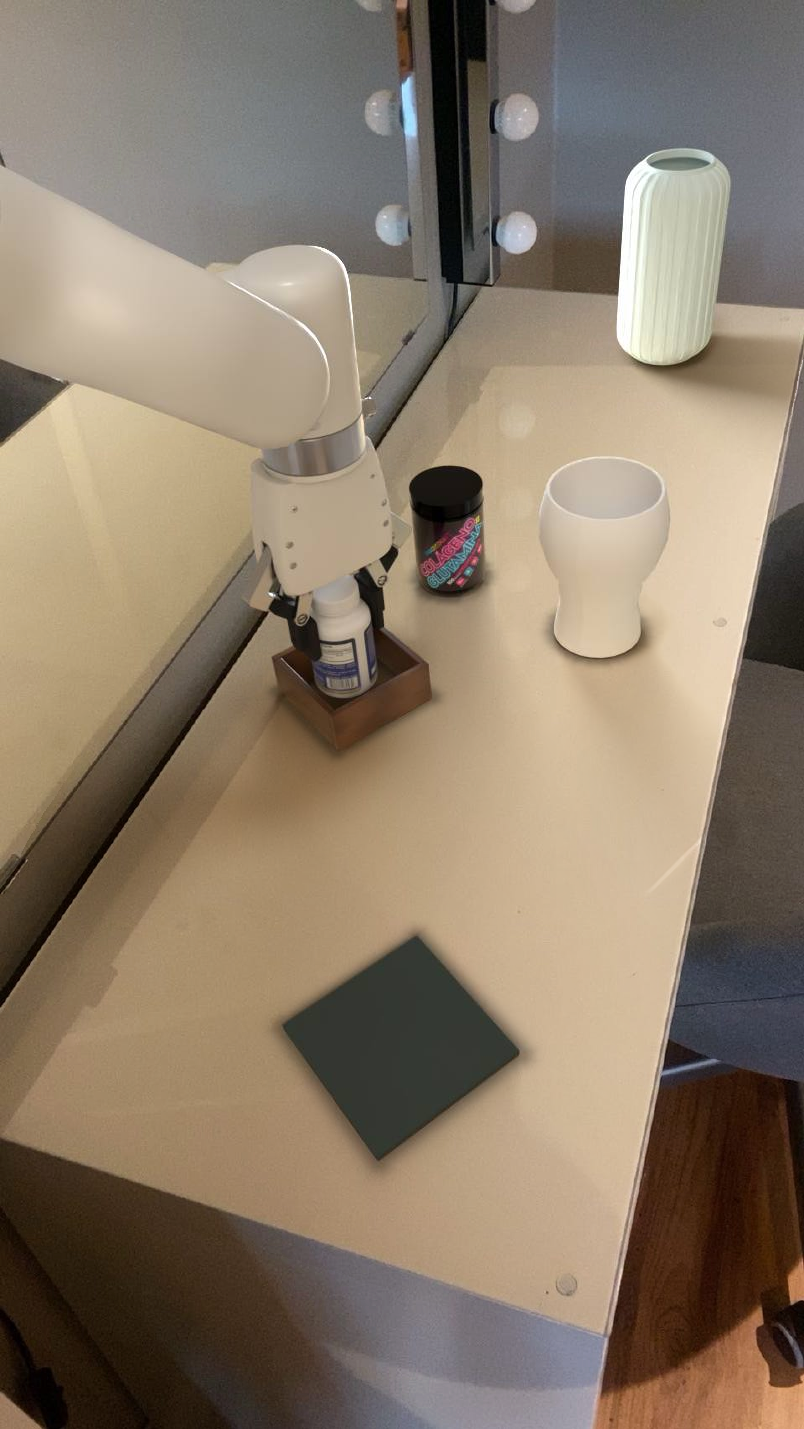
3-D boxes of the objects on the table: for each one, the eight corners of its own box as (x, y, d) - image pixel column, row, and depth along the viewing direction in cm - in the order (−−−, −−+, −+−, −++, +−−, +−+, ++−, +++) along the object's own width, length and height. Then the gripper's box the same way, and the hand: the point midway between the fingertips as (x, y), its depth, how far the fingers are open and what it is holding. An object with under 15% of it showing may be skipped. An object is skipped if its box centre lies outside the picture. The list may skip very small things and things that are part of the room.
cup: (681, 625, 94) (700, 481, 84) (607, 687, 89) (618, 541, 79) (587, 579, 100) (594, 438, 89) (513, 635, 95) (511, 493, 85)
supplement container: (405, 590, 101) (395, 497, 94) (435, 551, 105) (428, 459, 98) (468, 606, 99) (464, 512, 91) (497, 565, 103) (495, 472, 95)
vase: (718, 336, 133) (743, 145, 117) (697, 378, 126) (721, 180, 110) (629, 326, 137) (642, 140, 121) (604, 366, 130) (614, 174, 114)
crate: (338, 751, 87) (332, 717, 84) (278, 690, 92) (270, 656, 90) (432, 698, 90) (429, 663, 87) (368, 642, 96) (364, 608, 93)
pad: (377, 1161, 62) (376, 1157, 62) (282, 1028, 69) (281, 1024, 69) (519, 1054, 66) (519, 1050, 66) (417, 938, 73) (416, 934, 73)
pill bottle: (348, 650, 92) (336, 558, 85) (390, 676, 89) (381, 584, 82) (302, 681, 90) (285, 589, 83) (344, 709, 87) (330, 617, 80)
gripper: (380, 380, 79) (398, 574, 92) (178, 460, 73) (227, 658, 85) (440, 415, 75) (450, 615, 87) (230, 504, 68) (274, 706, 81)
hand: (339, 634), depth 86 cm, fingers closed on pill bottle, 5 cm apart
